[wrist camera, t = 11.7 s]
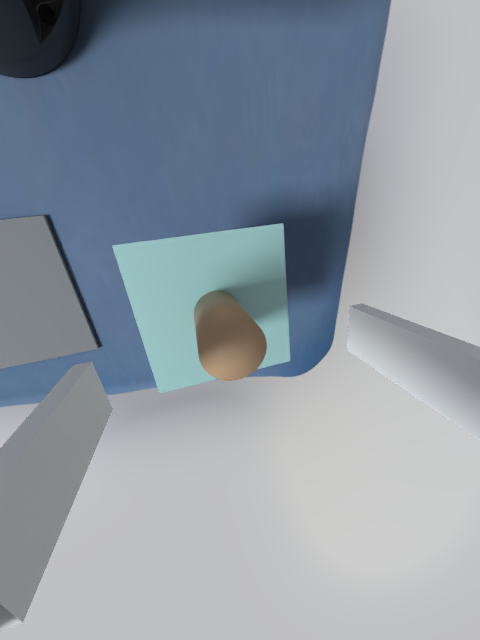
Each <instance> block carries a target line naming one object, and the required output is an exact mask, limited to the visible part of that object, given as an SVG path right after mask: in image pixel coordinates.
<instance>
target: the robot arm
mask: <svg viewBox="0 0 480 640" xmlns="http://www.w3.org/2000/svg"><path fill="white" fill-rule="evenodd" d="M79 19H80V0H0V75H4V76H10V77H33V76H38V75H41V74H44V73H47V72H49V71H51V70H52V69H54V68H55V67H57V66H58V65H59V64H60V63H61V62H62V61H63V60H64V59H65V58H66V56H67V55H68V54H69V52H70V50H71V48H72V46H73V44H74V42H75V39H76V36H77V32H78V27H79ZM347 350H348V351H349V352H351V353H352V354H354V355H355V356H357V357H358V358H359V359H361V360H362V361H364V362H365V363H367V364H368V365H370V366H371V367H373V368H374V369H376V370H377V371H379V372H380V373H381V374H383V375H384V376H386V377H387V378H389V379H390V380H392V381H393V382H394V383H396V384H397V385H399V386H400V387H402V388H403V389H405V390H406V391H407V392H409V393H411V394H412V395H413V396H415V397H416V398H418V399H419V400H421V401H422V402H423V403H425V404H426V405H428V406H429V407H431V408H432V409H434V410H435V411H437V412H438V413H440V414H441V415H443V416H444V417H445V418H447V419H448V420H450V421H451V422H452V423H454V424H456V425H457V426H459V427H460V428H461V429H463V430H464V431H466V432H467V433H469V434H470V435H471V436H473V437H474V438H476V439H477V440H479V441H480V347H478V346H475V345H473V344H470V343H467V342H464V341H461V340H459V339H456V338H454V337H451V336H448V335H445V334H443V333H440V332H437V331H435V330H432V329H429V328H426V327H424V326H421V325H418V324H416V323H413V322H410V321H408V320H404V319H402V318H400V317H397V316H394V315H391V314H389V313H386V312H383V311H380V310H378V309H375V308H372V307H370V306H367V305H364V304H358V305H353V306H350V310H349V325H348V340H347ZM111 411H112V406H111V404H110V402H109V400H108V397H107V395H106V393H105V391H104V388H103V386H102V384H101V381H100V379H99V377H98V375H97V372H96V370H95V368H94V366H93V363H92V361H91V362H87V363H82V364H77V365H73V366H72V367H71V368H70V369H69V370H68V372H67V373H66V374H65V375H64V376H63V377H62V378H61V380H60V381H59V382H58V383H57V384H56V385H55V386H54V388H53V389H52V390H51V391H50V392H49V393H48V394H47V396H46V397H45V398H44V399H43V400H42V401H41V402H40V404H39V405H38V406H37V407H36V408H35V409H34V411H33V412H32V413H31V414H30V415H29V416H28V417H27V418H26V420H25V421H24V422H23V423H22V424H21V425H20V427H19V428H18V429H17V430H16V431H15V432H14V433H13V435H12V436H11V437H10V438H9V439H8V440H7V442H6V443H5V444H4V445H3V446H2V447H1V448H0V631H2V630H4V629H7V628H9V627H12V626H15V625H18V624H20V623H23V621H24V618H25V616H26V613H27V611H28V609H29V606H30V604H31V602H32V599H33V597H34V595H35V592H36V590H37V587H38V585H39V583H40V580H41V578H42V576H43V573H44V571H45V568H46V566H47V564H48V561H49V559H50V556H51V554H52V552H53V549H54V547H55V545H56V542H57V540H58V537H59V535H60V533H61V530H62V528H63V526H64V523H65V521H66V518H67V516H68V514H69V511H70V509H71V507H72V504H73V501H74V499H75V497H76V494H77V492H78V490H79V487H80V485H81V483H82V480H83V478H84V475H85V473H86V471H87V468H88V466H89V464H90V461H91V459H92V457H93V454H94V452H95V449H96V447H97V445H98V442H99V440H100V437H101V435H102V433H103V430H104V428H105V425H106V423H107V421H108V418H109V416H110V413H111Z"/></svg>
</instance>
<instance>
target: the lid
mask: <svg viewBox="0 0 480 640" xmlns="http://www.w3.org/2000/svg"><path fill="white" fill-rule="evenodd" d="M112 247H113V250H114V253H115V256H116V259H117V262H118V266H119V269H120V272H121V275H122V278H123V281H124V284H125V287H126V291H127V294H128V297H129V300H130V303H131V306H132V309H133V312H134V316H135V319H136V322H137V325H138V328H139V331H140V334H141V337H142V341H143V344H144V347H145V350H146V353H147V356H148V359H149V362H150V366H151V369H152V372H153V375H154V378H155V381H156V384H157V387H158V390H159V393H163V392H167V391H171V390H175V389H179V388H183V387H187V386H191V385H195V384H199V383H203V382H207V381H211V380H215V379H220V380H227V381H232V380H238V379H241V378H244V377H246V376H248V375H250V374H251V373H253V372H254V371H255V370H256V369H260V368H264V367H268V366H272V365H276V364H280V363H284V362H288V361H290V346H289V326H288V306H287V286H286V266H285V245H284V225H283V223H281V224H273V225H266V226H258V227H250V228H243V229H235V230H227V231H220V232H212V233H205V234H197V235H189V236H182V237H174V238H166V239H159V240H151V241H144V242H136V243H128V244H121V245H113V246H112Z"/></svg>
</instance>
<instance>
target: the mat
mask: <svg viewBox="0 0 480 640" xmlns="http://www.w3.org/2000/svg"><path fill="white" fill-rule="evenodd" d="M98 348H99V345H98V343H97V341H96V338H95V336H94V333H93V331H92V328H91V326H90V323H89V321H88V318H87V316H86V314H85V311H84V309H83V306H82V304H81V301H80V299H79V296H78V294H77V291H76V289H75V287H74V284H73V282H72V279H71V277H70V274H69V272H68V269H67V267H66V264H65V262H64V260H63V257H62V255H61V252H60V250H59V247H58V245H57V242H56V240H55V237H54V235H53V233H52V230H51V228H50V225H49V223H48V220H47V218H46V216H44V215H42V216H32V217H23V218H13V219H4V220H0V369H2V368H7V367H12V366H17V365H22V364H27V363H32V362H36V361H41V360H46V359H51V358H56V357H61V356H66V355H70V354H75V353H80V352H85V351H90V350H95V349H98Z"/></svg>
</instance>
